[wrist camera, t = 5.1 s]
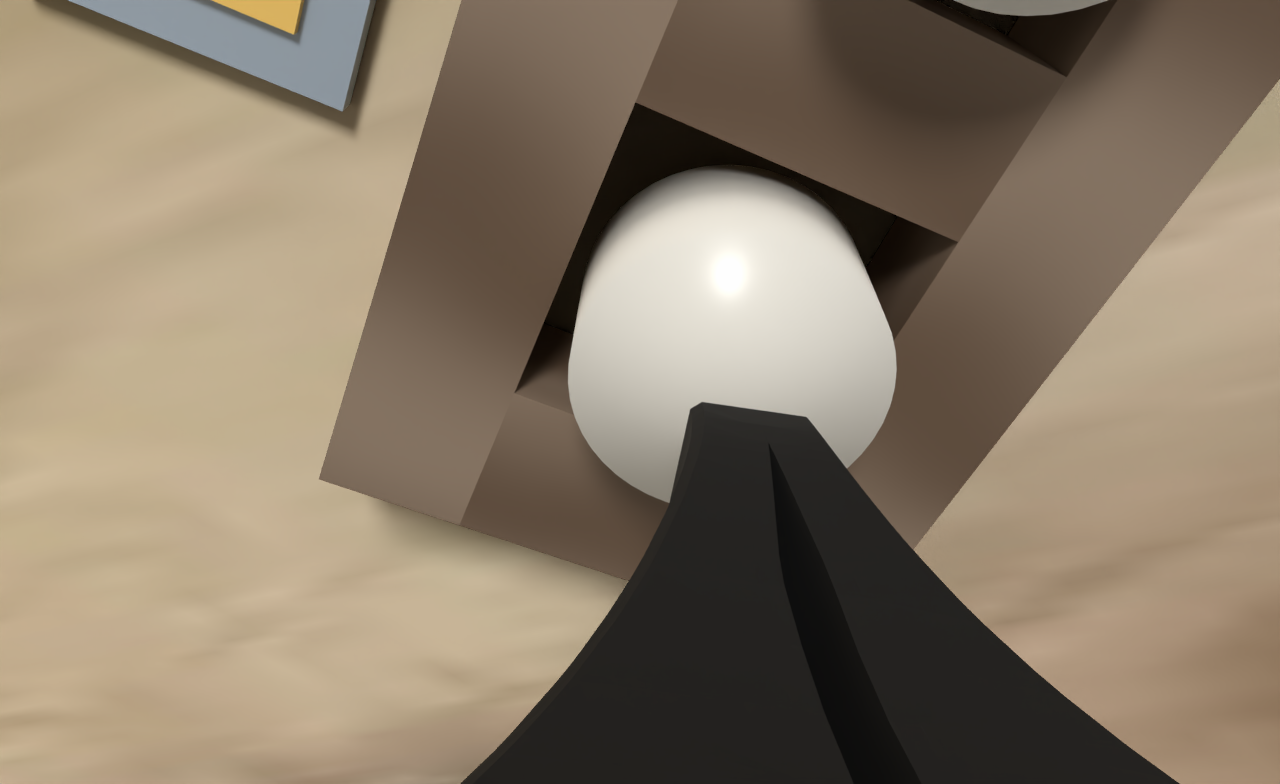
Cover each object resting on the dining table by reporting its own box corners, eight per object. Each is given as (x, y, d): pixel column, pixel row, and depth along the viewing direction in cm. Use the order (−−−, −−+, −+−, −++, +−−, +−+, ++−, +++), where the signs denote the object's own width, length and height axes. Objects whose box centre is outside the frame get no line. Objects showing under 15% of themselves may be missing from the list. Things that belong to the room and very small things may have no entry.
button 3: (647, 116, 13) (645, 177, 11) (917, 233, 14) (962, 309, 12) (542, 362, 15) (523, 452, 13) (781, 450, 16) (798, 548, 14)
